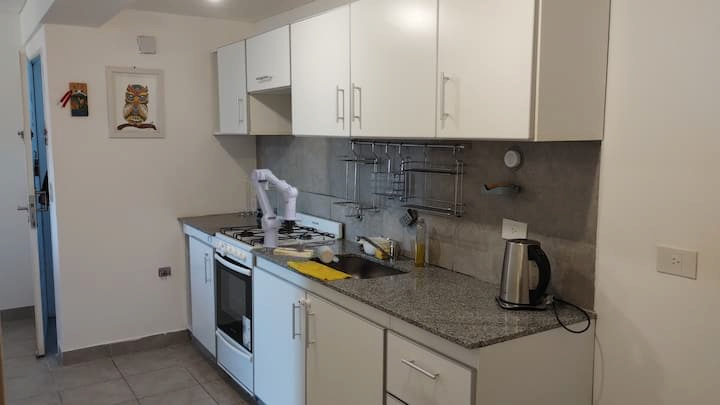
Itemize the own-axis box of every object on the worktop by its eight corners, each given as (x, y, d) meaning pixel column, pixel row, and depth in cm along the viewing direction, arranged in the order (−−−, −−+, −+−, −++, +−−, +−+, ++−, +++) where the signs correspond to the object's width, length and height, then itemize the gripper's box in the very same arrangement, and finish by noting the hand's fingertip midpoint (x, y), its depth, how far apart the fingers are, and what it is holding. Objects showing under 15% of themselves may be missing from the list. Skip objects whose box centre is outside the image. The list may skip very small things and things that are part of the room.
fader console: (277, 250, 316) (277, 247, 316) (313, 253, 314) (313, 249, 314) (273, 254, 307) (273, 250, 307) (310, 257, 306) (310, 253, 305)
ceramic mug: (320, 263, 294) (321, 249, 293) (316, 259, 302) (317, 245, 301) (340, 263, 298) (341, 249, 297) (336, 259, 305) (337, 245, 304)
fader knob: (299, 249, 312) (299, 242, 312) (304, 250, 312) (304, 242, 311) (297, 251, 308) (297, 243, 308) (303, 251, 308) (303, 244, 307)
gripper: (275, 209, 310) (274, 234, 312) (301, 211, 309) (300, 236, 311) (278, 207, 317) (277, 232, 319) (304, 209, 316) (303, 234, 318)
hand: (289, 234), depth 316 cm, fingers closed
